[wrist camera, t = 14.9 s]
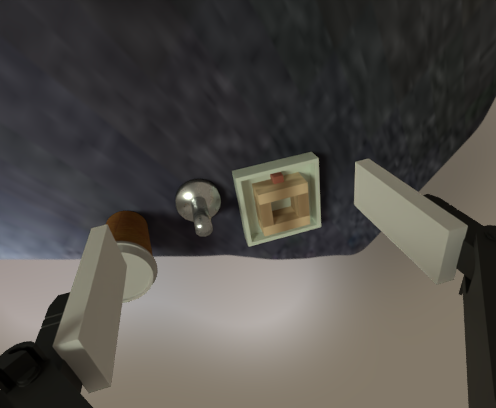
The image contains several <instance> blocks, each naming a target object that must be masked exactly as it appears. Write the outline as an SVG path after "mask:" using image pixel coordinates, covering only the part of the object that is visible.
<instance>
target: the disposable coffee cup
mask: <svg viewBox="0 0 496 408" xmlns="http://www.w3.org/2000/svg"><path fill="white" fill-rule="evenodd" d="M107 224H108V226H109V229H110V231H111V233H112V235H113V237H114V239H115V241H116V243H117V245H118V248H119V250H120V252H121V254H122V256H123V258H124V260H125V262H126V264H127V271H126V279H125V286H124V293H123V301H122V303H124V302H130V301H132V300H135V299H138V298H139V297H141V296H142V295H144V294H145V293H146V292H147V291H148V290H149V289H150V287H151V285H152V284H153V283H154V281H155V279H156V277H157V264H156V261H155V259H154V257H153V256H152V250H151V244H150V238H149V232H148V225H147V222H146V220H145V219H144V218H143V217H142V216H141V215H140V214H138V213H135V212H132V211H121V212H117V213H115V214H113V215H112V216H111V217H110V218H109V219H108V220H107V223H106V224H105V225H107Z"/></svg>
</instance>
